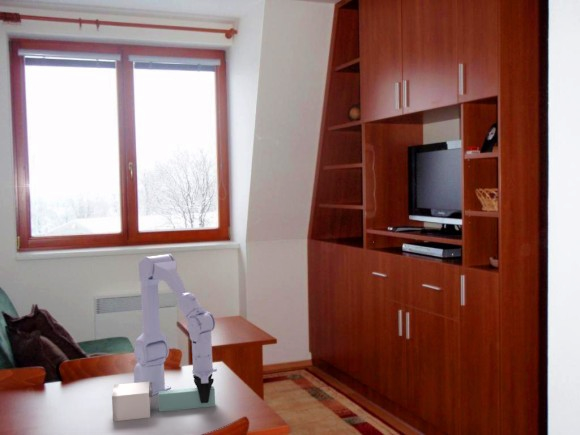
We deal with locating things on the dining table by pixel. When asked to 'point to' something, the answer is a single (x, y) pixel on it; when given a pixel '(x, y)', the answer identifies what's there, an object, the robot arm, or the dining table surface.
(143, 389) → the white box
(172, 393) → the mint green rectangular block
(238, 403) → the dining table surface
